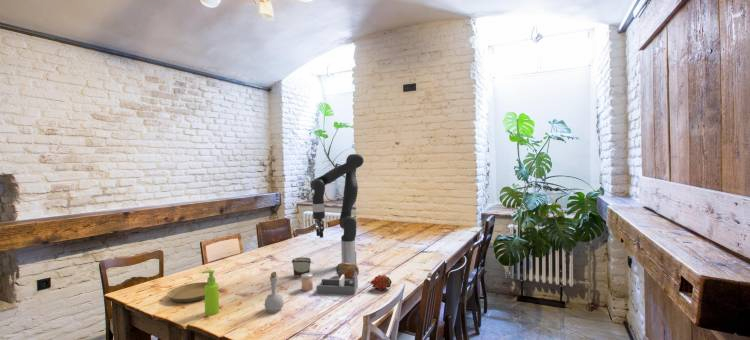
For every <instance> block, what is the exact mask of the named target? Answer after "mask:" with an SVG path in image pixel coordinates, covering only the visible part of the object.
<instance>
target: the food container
mask: <svg viewBox="0 0 750 340" xmlns="http://www.w3.org/2000/svg"><path fill="white" fill-rule="evenodd" d="M311 263H312V259H311V258H309V257H307V256H306V257H305V256H304V257H303V256H302V257H301V256H300V257H295V258H293V259H292V260H291V264H292V269H293V270H292V271H293V276H294V277H301V275H302V274H305V273H311V272H310V270H311Z"/></svg>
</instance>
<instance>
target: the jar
mask: <svg viewBox="0 0 750 340" xmlns="http://www.w3.org/2000/svg"><path fill="white" fill-rule="evenodd" d="M313 275H314V274H313V273H311V272H310V273H305V274H302V275H301V276H300V278H301V291H302V292H311V291H313V287H314V285H313V284H314V283H313V277H314V276H313Z"/></svg>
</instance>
